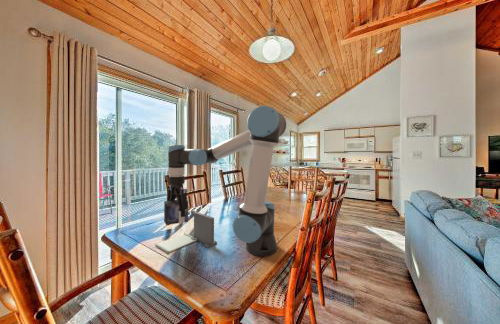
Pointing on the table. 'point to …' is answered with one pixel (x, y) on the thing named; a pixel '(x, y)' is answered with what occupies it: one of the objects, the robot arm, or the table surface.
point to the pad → (175, 243)
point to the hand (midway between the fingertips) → (176, 220)
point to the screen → (204, 229)
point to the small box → (173, 212)
